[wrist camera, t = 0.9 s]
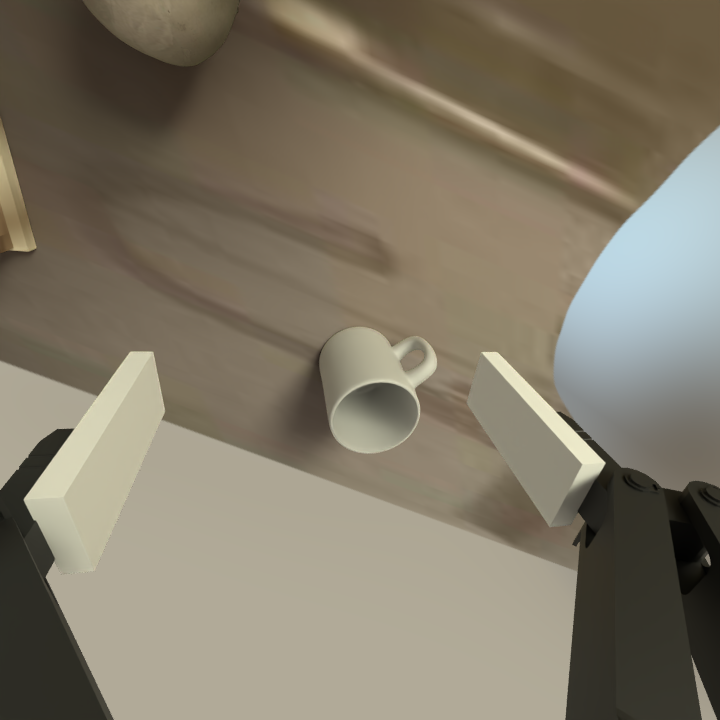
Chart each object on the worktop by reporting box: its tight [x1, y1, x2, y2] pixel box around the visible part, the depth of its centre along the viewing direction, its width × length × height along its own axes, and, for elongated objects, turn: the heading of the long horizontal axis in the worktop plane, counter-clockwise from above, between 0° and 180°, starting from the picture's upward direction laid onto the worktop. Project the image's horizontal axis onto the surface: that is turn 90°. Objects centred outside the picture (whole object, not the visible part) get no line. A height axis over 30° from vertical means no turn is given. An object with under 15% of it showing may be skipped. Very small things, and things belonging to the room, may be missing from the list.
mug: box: [319, 327, 437, 454], centre depth 38 cm, size 12×8×11 cm
